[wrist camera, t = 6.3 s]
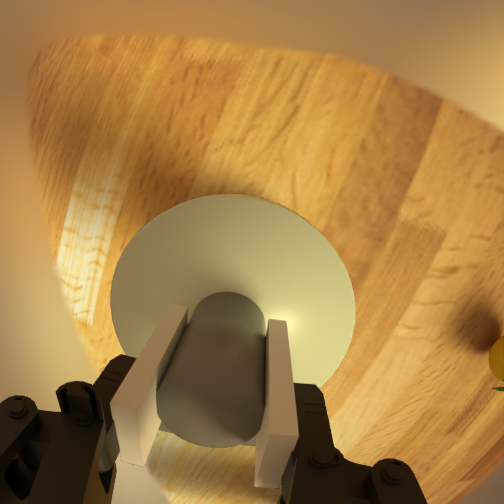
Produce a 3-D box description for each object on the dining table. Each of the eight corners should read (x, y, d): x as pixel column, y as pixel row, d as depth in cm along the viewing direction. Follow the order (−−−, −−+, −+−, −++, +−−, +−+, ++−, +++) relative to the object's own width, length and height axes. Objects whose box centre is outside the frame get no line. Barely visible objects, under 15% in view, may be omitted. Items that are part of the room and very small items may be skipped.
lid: (320, 413, 18) (336, 507, 11) (124, 384, 18) (78, 466, 11) (374, 214, 14) (451, 257, 8) (120, 181, 14) (25, 201, 8)
